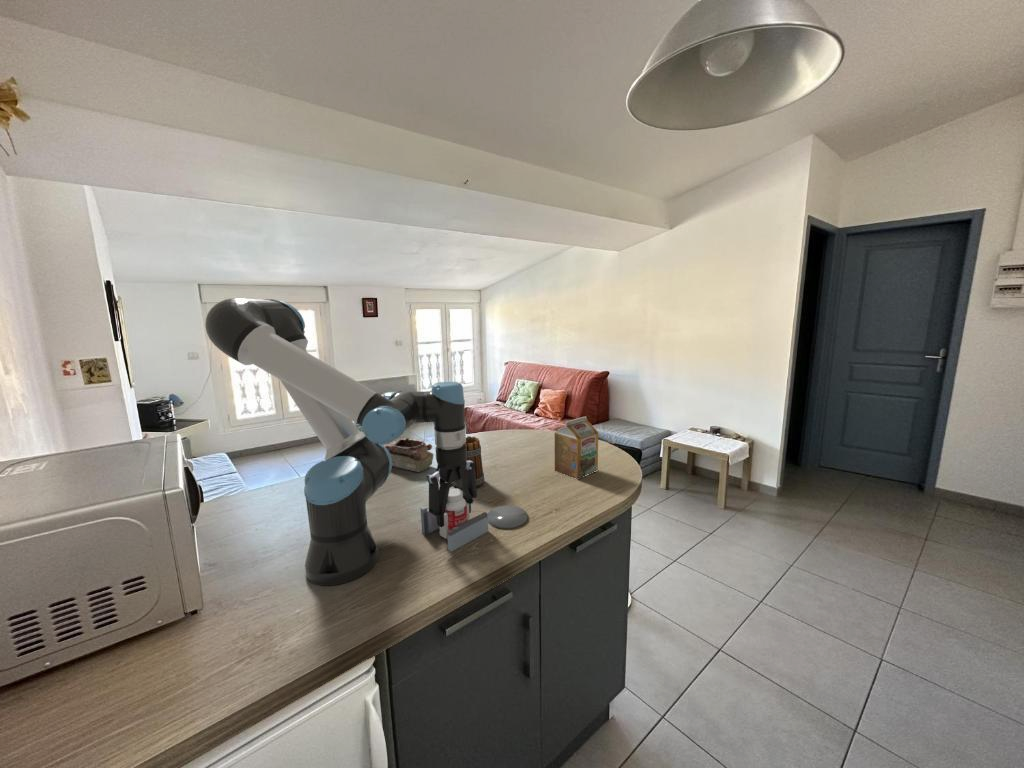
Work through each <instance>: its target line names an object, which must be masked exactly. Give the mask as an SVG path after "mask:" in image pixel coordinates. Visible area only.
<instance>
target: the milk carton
mask: <svg viewBox="0 0 1024 768" xmlns="http://www.w3.org/2000/svg"><path fill="white" fill-rule="evenodd" d="M564 425H565V426H562V427H560V428H558V429H556V431H555V432H554V472H556V471H557V473H558V474H561V473H562V474H561V475H564V474H565V475H564V476H566V475H568V476H570V477H569V478H571V477H573V478H576V479H578V478H581V477H583V476H585V475H587V474H590V473H592V472H594V471H596V470H599V465H598V464H599V462H598V461H599V432H598V431H597V429H596V428H595V426H594V425H592V423H590V421H588V418H587V416H582V417H578V418H575V419H571V420H567V421H565V424H564ZM568 476H567V477H568ZM573 478H572V479H573ZM576 479H575V480H576ZM581 479H582V478H581Z"/></svg>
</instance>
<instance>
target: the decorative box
mask: <svg viewBox="0 0 1024 768" xmlns="http://www.w3.org/2000/svg"><path fill="white" fill-rule="evenodd" d="M383 445H384V446H385V447H386V448H387V450H388V451H389V453H390V455H391V458H392V466H394V467H395V468H399V469H403V470H406V471H407V470H409V471H411V472H416V473H421V472H422V471H426V470H427V469H428V467H431V466H432V465H433V460H434V456H435V454H434V453H432V451H431V452H430V450H432V449H433V445H432V444H431V443H426V442H425V440H424V439H421V438H415V437H404V438H399V439H395V440H393V441H392V442H390V443H387V444H383Z"/></svg>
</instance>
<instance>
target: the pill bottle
mask: <svg viewBox="0 0 1024 768" xmlns="http://www.w3.org/2000/svg"><path fill="white" fill-rule="evenodd" d="M445 513H447V514H448V530H451V529H453V528H455V527H456V526H458V525H460V524H462V523H464V522H466V521H467V513H466V501H465V499H464V498H463V491H462V490H461V489H458V488H456V487H455V488H450V489H449V494H448V499H447V504H446V509H445Z"/></svg>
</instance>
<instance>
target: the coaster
mask: <svg viewBox="0 0 1024 768" xmlns="http://www.w3.org/2000/svg"><path fill="white" fill-rule="evenodd" d="M487 517H488V525H491V527H495V528H498V529H506V530H507V529H515V528H518V527H520V526H522V525H524V524H526V522H527V521H528V513H527V511H526V510H525V509H524V508H522V507H520V506H516V505H508V504H506V505H499V506H496V507H494V508H491V509H490V510H489V511H488V512H487Z"/></svg>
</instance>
